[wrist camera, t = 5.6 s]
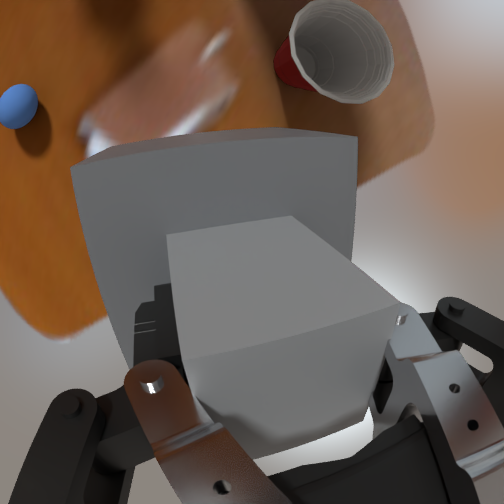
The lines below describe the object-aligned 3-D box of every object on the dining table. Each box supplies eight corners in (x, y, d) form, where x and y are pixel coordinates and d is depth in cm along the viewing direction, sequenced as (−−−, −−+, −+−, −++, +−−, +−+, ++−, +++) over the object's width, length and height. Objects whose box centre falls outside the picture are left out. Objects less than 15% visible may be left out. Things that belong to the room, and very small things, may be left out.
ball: (43, 81, 24) (26, 75, 19) (45, 121, 26) (29, 122, 21) (8, 93, 22) (-11, 91, 18) (10, 132, 25) (-9, 135, 20)
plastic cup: (255, 17, 28) (298, -20, 17) (334, 38, 31) (395, 19, 21) (245, 99, 32) (287, 90, 21) (327, 113, 35) (389, 116, 25)
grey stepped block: (275, 127, 18) (492, 168, 5) (279, 270, 23) (405, 429, 10) (111, 146, 16) (-29, 231, 3) (140, 295, 20) (150, 507, 7)
